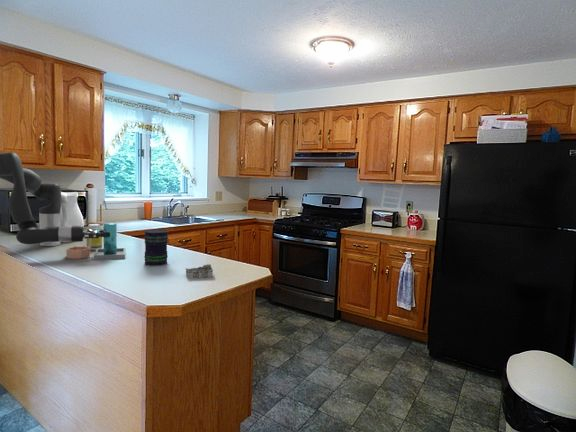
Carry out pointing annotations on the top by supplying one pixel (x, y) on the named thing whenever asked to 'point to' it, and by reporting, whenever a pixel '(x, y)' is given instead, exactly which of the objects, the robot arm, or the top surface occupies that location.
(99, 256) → the tray
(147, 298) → the top surface
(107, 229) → the bottle
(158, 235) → the dark blue barrel
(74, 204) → the pitcher
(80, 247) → the peach octagonal bowl
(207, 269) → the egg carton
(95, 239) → the supplement bottle
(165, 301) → the top surface
